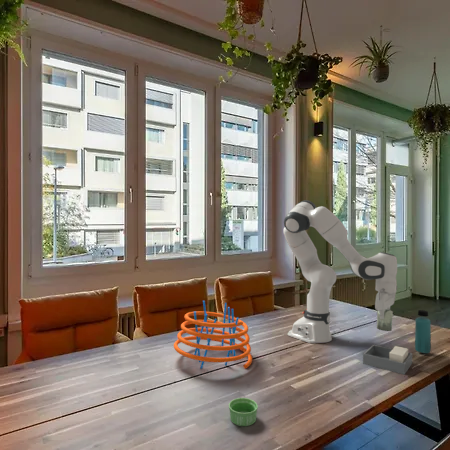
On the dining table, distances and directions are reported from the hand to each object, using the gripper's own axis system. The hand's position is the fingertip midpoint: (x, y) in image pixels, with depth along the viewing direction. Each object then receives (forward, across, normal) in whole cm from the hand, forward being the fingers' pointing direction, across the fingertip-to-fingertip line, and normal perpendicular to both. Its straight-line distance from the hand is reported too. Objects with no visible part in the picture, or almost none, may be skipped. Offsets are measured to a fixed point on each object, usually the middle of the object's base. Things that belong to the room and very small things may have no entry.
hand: (384, 316), depth 162 cm
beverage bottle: (+16, +9, -15) cm, 24 cm away
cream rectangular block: (+16, -15, -10) cm, 24 cm away
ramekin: (+19, -85, +19) cm, 89 cm away
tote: (+17, -15, -6) cm, 23 cm away
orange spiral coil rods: (+19, -57, +56) cm, 82 cm away
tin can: (+6, 0, 0) cm, 6 cm away
